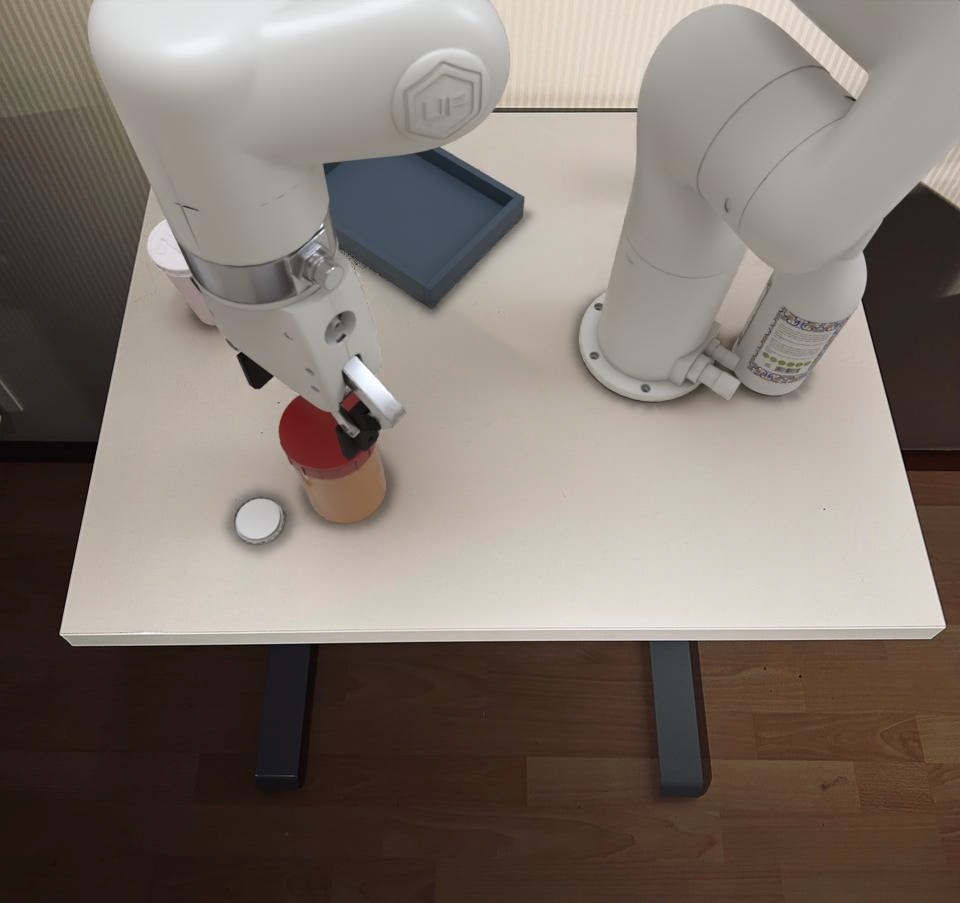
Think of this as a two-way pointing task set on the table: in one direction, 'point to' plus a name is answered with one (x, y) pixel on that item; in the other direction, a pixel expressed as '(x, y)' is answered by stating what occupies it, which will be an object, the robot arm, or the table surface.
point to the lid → (317, 440)
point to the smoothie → (176, 268)
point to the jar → (348, 492)
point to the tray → (419, 217)
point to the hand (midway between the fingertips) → (314, 407)
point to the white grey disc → (259, 520)
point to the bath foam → (799, 321)
